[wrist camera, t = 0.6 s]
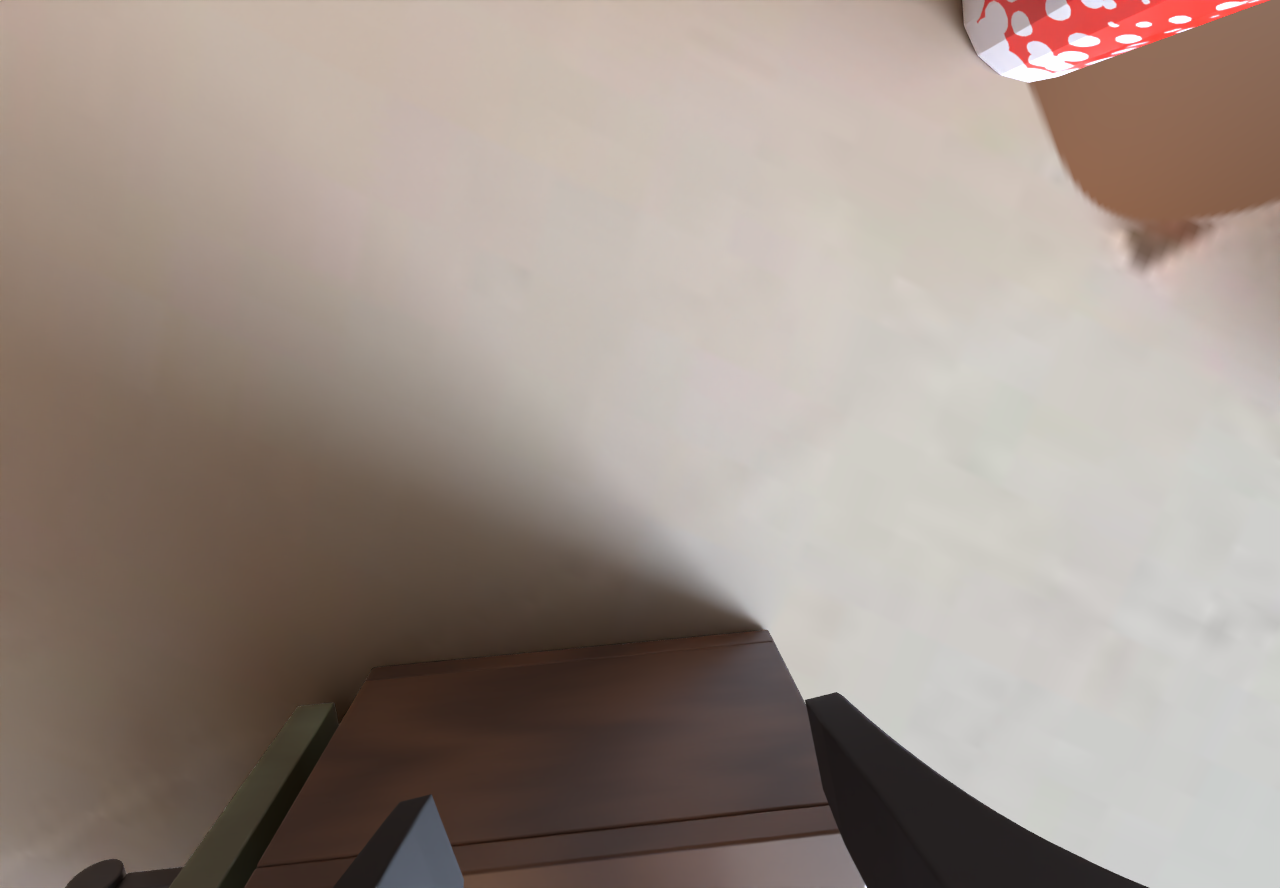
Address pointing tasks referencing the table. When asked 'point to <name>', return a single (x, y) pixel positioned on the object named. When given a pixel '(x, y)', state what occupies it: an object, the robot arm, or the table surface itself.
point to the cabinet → (580, 771)
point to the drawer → (239, 814)
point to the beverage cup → (1077, 30)
